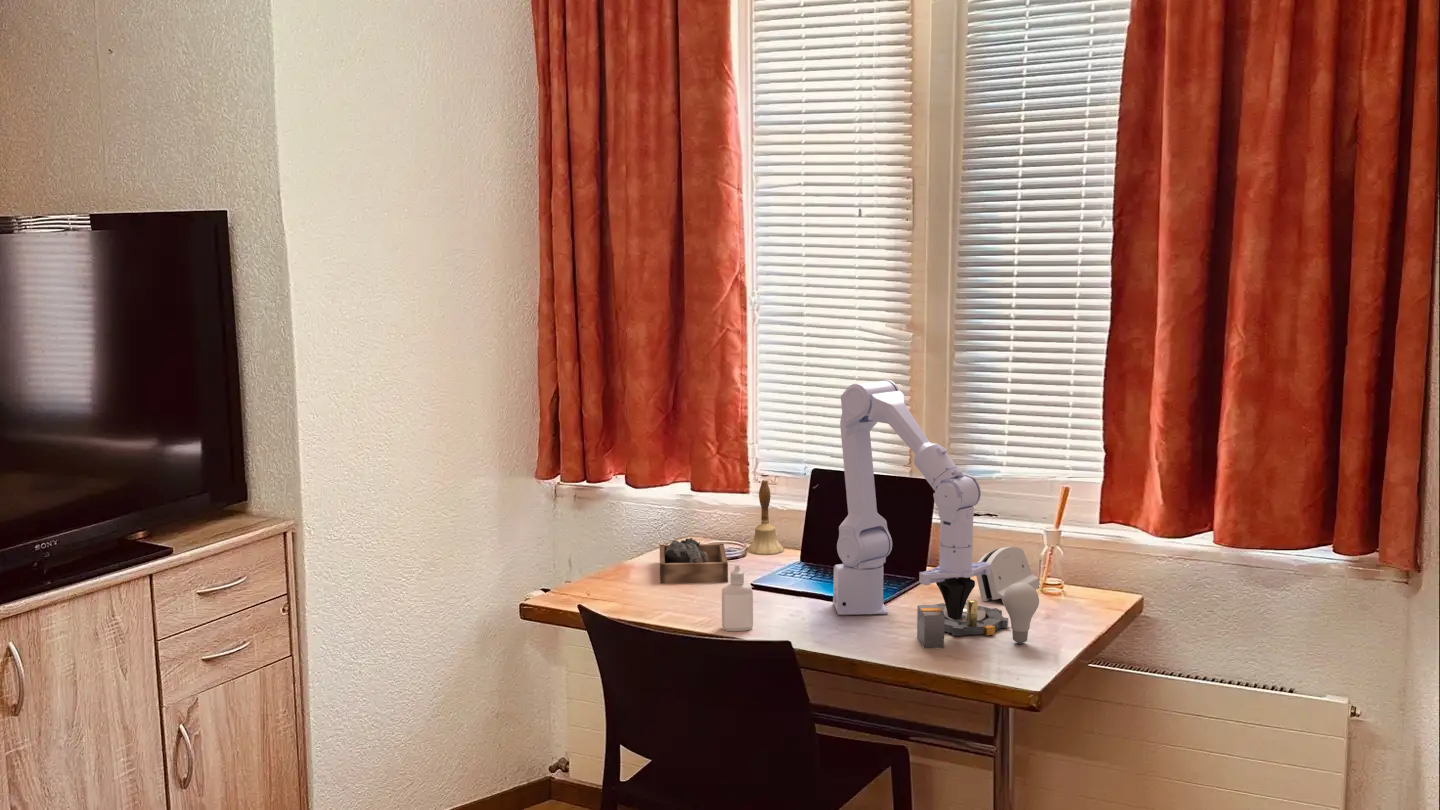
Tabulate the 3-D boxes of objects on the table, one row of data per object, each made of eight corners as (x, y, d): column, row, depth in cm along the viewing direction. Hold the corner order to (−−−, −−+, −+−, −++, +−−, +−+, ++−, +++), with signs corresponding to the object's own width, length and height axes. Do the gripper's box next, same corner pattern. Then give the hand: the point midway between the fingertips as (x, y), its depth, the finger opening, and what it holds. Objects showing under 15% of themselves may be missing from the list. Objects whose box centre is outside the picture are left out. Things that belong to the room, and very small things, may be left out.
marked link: (924, 648, 219) (924, 614, 218) (916, 637, 224) (917, 604, 224) (944, 648, 219) (944, 614, 218) (936, 637, 225) (937, 603, 224)
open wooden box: (660, 583, 259) (659, 564, 258) (659, 562, 275) (659, 544, 274) (727, 582, 259) (727, 563, 259) (723, 561, 275) (723, 543, 275)
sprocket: (932, 636, 224) (932, 605, 223) (914, 610, 239) (915, 581, 238) (1016, 634, 225) (1017, 603, 224) (993, 608, 240) (994, 579, 239)
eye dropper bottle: (747, 633, 227) (747, 569, 225) (718, 630, 229) (718, 566, 227) (755, 626, 231) (755, 563, 229) (727, 623, 233) (727, 560, 231)
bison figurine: (696, 581, 259) (731, 568, 266) (693, 549, 258) (728, 536, 265) (658, 571, 268) (693, 558, 275) (655, 540, 267) (690, 527, 273)
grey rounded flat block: (1005, 605, 243) (990, 555, 243) (983, 609, 246) (969, 559, 246) (1041, 586, 255) (1027, 538, 256) (1021, 589, 258) (1007, 542, 259)
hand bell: (743, 554, 282) (743, 484, 279) (751, 544, 290) (751, 476, 287) (780, 556, 280) (780, 485, 277) (786, 546, 288) (786, 478, 285)
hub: (948, 630, 228) (948, 615, 228) (939, 617, 235) (939, 603, 235) (989, 629, 228) (990, 614, 228) (979, 616, 236) (979, 602, 235)
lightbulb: (997, 638, 223) (999, 578, 222) (1031, 637, 224) (1032, 577, 222) (1008, 650, 217) (1010, 588, 216) (1042, 649, 218) (1044, 587, 216)
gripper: (937, 554, 215) (935, 630, 217) (1003, 544, 222) (1001, 618, 224) (912, 545, 221) (911, 619, 223) (977, 535, 228) (975, 607, 230)
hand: (954, 618), depth 224 cm, fingers closed
